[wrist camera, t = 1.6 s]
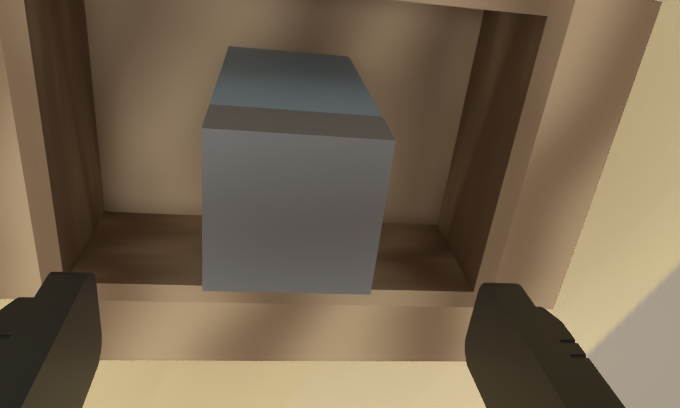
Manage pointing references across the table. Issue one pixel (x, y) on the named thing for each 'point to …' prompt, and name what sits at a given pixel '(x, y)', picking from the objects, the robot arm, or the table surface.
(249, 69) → the capped block
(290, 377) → the table surface
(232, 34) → the open carton
